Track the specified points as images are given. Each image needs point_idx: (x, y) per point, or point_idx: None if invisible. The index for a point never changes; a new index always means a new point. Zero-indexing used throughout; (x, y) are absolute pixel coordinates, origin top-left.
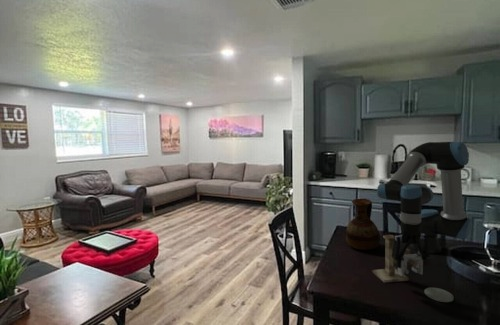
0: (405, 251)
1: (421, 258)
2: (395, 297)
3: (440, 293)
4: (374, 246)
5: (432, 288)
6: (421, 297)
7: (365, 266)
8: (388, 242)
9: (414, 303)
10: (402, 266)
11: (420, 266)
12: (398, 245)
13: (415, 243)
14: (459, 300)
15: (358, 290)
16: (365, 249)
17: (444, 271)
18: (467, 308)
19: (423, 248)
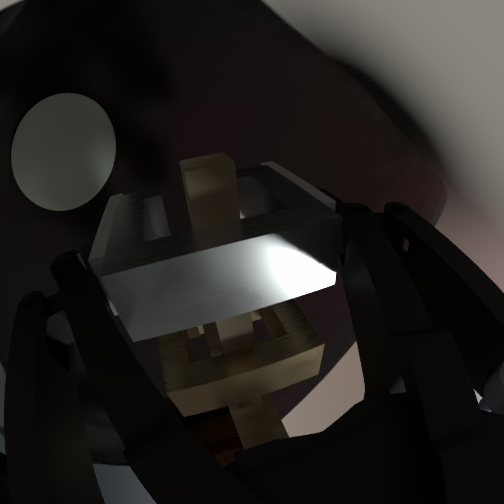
0: (210, 373)
1: (104, 260)
2: (272, 121)
3: (49, 158)
4: (197, 428)
5: (65, 201)
6: (149, 121)
7: (264, 340)
8: (284, 428)
9: (214, 71)
10: (302, 184)
11: (122, 215)
12: (497, 295)
13: (236, 460)
14: (3, 125)
15: (372, 180)
16: (222, 414)
17: (6, 338)
18: (10, 66)
19: (58, 391)
